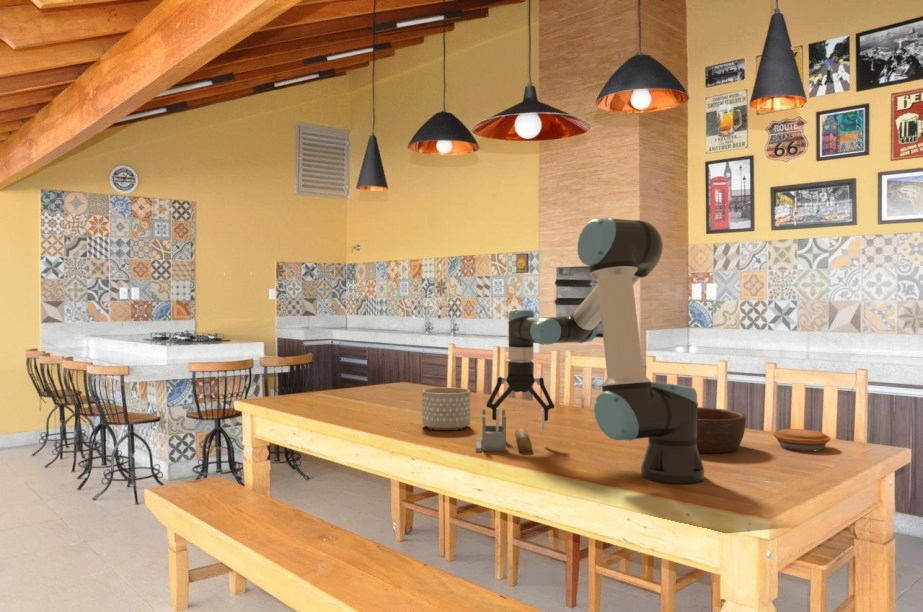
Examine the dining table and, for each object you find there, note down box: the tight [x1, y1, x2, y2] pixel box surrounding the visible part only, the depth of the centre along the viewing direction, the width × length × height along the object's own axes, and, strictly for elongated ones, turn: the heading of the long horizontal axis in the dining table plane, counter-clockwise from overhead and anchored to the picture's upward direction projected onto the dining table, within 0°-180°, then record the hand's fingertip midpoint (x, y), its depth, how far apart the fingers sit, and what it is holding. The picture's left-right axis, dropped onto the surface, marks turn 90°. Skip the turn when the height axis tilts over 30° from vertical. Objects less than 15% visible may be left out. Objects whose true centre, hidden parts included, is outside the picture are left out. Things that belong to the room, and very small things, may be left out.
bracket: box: [475, 407, 507, 453], centre depth 217 cm, size 19×9×10 cm, turn 178°
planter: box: [421, 387, 471, 431], centre depth 247 cm, size 16×16×13 cm
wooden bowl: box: [697, 406, 747, 454], centre depth 216 cm, size 25×25×10 cm
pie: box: [772, 428, 831, 452], centre depth 216 cm, size 16×16×5 cm
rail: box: [514, 427, 533, 454], centre depth 217 cm, size 19×4×4 cm, turn 178°
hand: (519, 431), depth 217 cm, fingers open, 13 cm apart
